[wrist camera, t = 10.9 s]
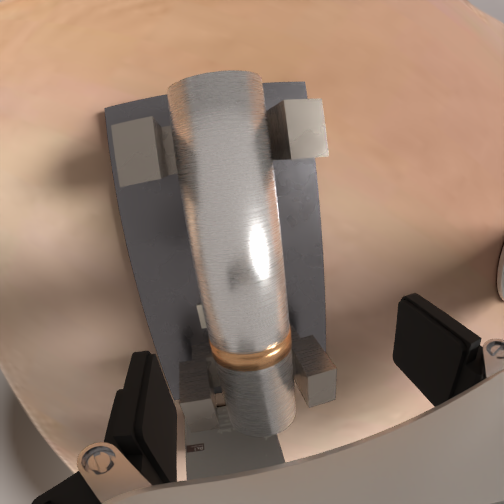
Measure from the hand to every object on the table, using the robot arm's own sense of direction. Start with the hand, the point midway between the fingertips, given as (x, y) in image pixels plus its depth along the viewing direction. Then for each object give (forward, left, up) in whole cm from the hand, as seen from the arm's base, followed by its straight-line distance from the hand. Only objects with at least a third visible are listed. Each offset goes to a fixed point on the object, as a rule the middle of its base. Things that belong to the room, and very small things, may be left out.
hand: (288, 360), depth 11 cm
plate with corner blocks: (+1, 0, -13) cm, 13 cm away
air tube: (0, 0, -8) cm, 8 cm away
